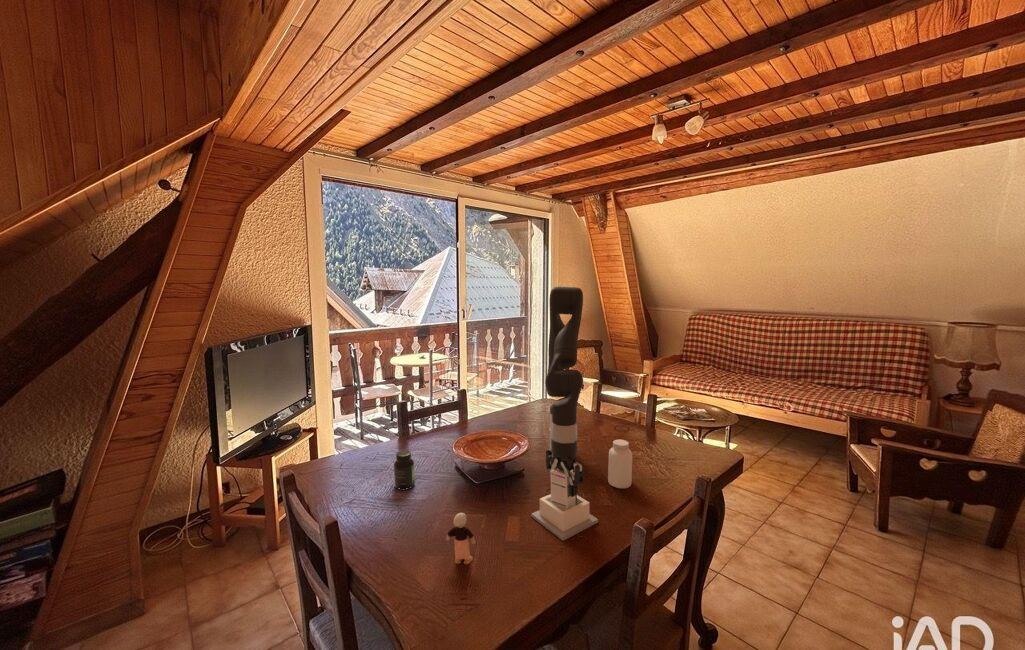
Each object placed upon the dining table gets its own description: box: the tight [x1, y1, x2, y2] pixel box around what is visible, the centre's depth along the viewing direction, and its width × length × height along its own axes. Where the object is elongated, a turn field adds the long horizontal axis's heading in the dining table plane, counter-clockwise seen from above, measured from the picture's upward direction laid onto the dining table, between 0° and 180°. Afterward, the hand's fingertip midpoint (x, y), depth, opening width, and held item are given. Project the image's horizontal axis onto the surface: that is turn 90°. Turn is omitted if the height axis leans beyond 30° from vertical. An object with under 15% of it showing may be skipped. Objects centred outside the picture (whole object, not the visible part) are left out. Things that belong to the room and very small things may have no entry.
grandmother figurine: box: [445, 512, 477, 565], centre depth 103 cm, size 8×4×13 cm, turn 92°
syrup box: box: [550, 468, 578, 512], centre depth 119 cm, size 6×6×14 cm
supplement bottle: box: [393, 449, 416, 489], centre depth 140 cm, size 7×7×12 cm
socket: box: [530, 493, 599, 542], centre depth 120 cm, size 14×14×6 cm
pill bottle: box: [607, 439, 633, 489], centre depth 140 cm, size 8×8×15 cm
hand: (564, 490), depth 119 cm, fingers open, 7 cm apart
